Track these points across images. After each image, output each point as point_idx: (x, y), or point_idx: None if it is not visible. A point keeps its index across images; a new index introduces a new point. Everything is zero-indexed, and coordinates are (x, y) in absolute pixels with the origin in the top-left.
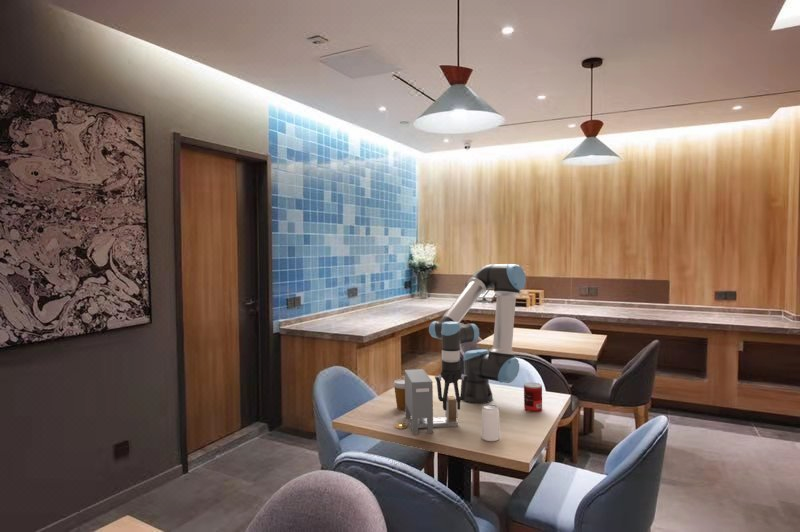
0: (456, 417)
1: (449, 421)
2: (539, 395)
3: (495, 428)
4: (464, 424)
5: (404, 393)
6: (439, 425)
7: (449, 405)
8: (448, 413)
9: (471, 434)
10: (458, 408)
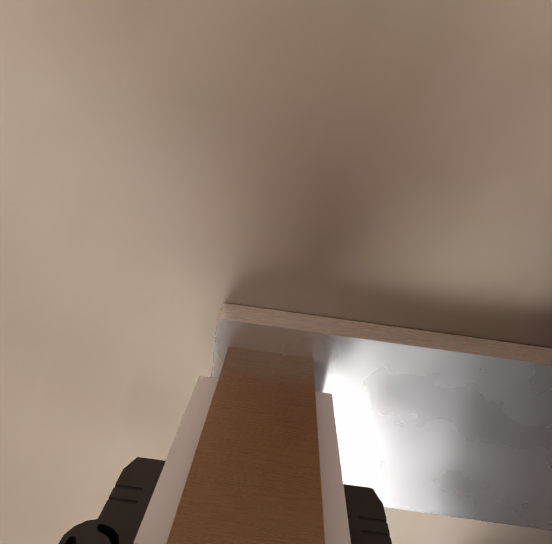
0: (211, 384)
1: (306, 359)
2: None
3: None
4: (143, 326)
5: None
6: (427, 336)
7: (308, 505)
8: None
9: (158, 5)
10: (148, 470)
